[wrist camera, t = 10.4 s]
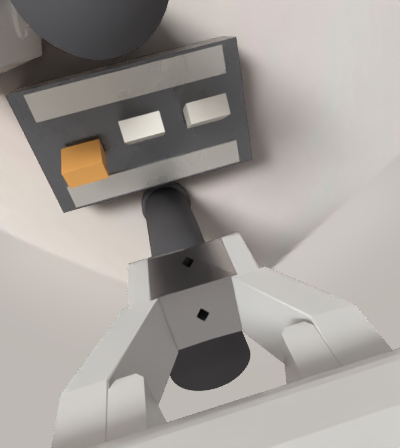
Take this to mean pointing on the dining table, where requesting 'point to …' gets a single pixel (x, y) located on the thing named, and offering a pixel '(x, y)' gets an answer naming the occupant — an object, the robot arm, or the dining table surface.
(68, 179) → the tripped paddle
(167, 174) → the breaker panel
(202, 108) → the white block
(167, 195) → the cord post outer
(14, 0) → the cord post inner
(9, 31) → the jar
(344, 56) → the dining table surface
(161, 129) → the white block
